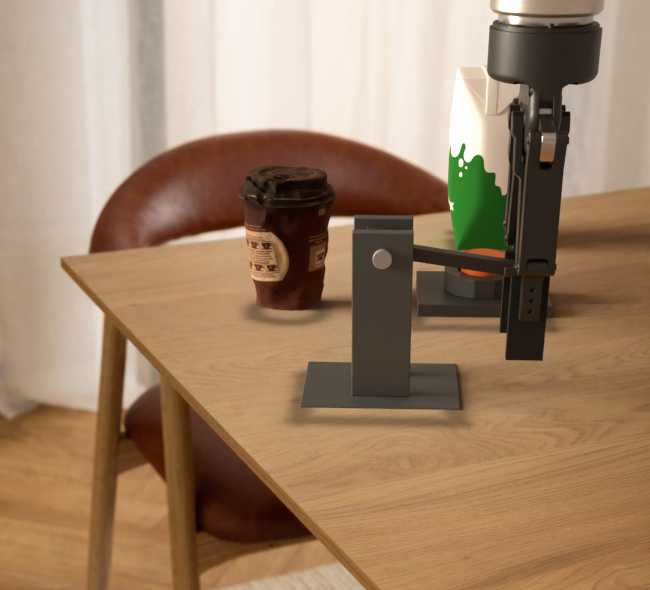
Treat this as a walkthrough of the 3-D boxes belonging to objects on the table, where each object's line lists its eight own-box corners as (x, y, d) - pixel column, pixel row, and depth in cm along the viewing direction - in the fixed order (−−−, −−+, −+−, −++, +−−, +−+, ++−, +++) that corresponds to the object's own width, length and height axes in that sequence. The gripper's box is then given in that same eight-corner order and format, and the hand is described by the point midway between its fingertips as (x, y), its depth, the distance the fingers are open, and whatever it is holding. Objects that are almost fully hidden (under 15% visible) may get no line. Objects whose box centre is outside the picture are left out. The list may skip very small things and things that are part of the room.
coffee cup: (271, 333, 106) (267, 187, 100) (225, 307, 112) (219, 169, 106) (351, 314, 110) (352, 173, 104) (303, 291, 116) (301, 157, 110)
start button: (502, 266, 111) (503, 248, 110) (505, 279, 107) (507, 261, 106) (459, 266, 111) (460, 248, 110) (461, 279, 108) (462, 260, 107)
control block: (539, 293, 115) (542, 253, 113) (550, 329, 106) (554, 286, 104) (415, 292, 116) (416, 252, 114) (416, 327, 107) (418, 285, 105)
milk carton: (532, 253, 127) (547, 56, 118) (447, 252, 127) (456, 56, 118) (523, 230, 135) (536, 44, 125) (443, 230, 135) (451, 45, 126)
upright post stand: (455, 377, 96) (463, 208, 90) (459, 423, 88) (468, 242, 82) (308, 374, 97) (305, 207, 91) (300, 420, 89) (296, 240, 83)
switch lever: (532, 277, 90) (539, 246, 89) (539, 298, 86) (547, 266, 85) (362, 251, 90) (367, 220, 89) (360, 271, 86) (365, 238, 84)
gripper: (625, 35, 71) (586, 392, 82) (584, 4, 87) (556, 306, 98) (499, 34, 71) (477, 390, 82) (481, 3, 87) (465, 304, 98)
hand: (520, 344), depth 90 cm, fingers closed on switch lever, 5 cm apart
